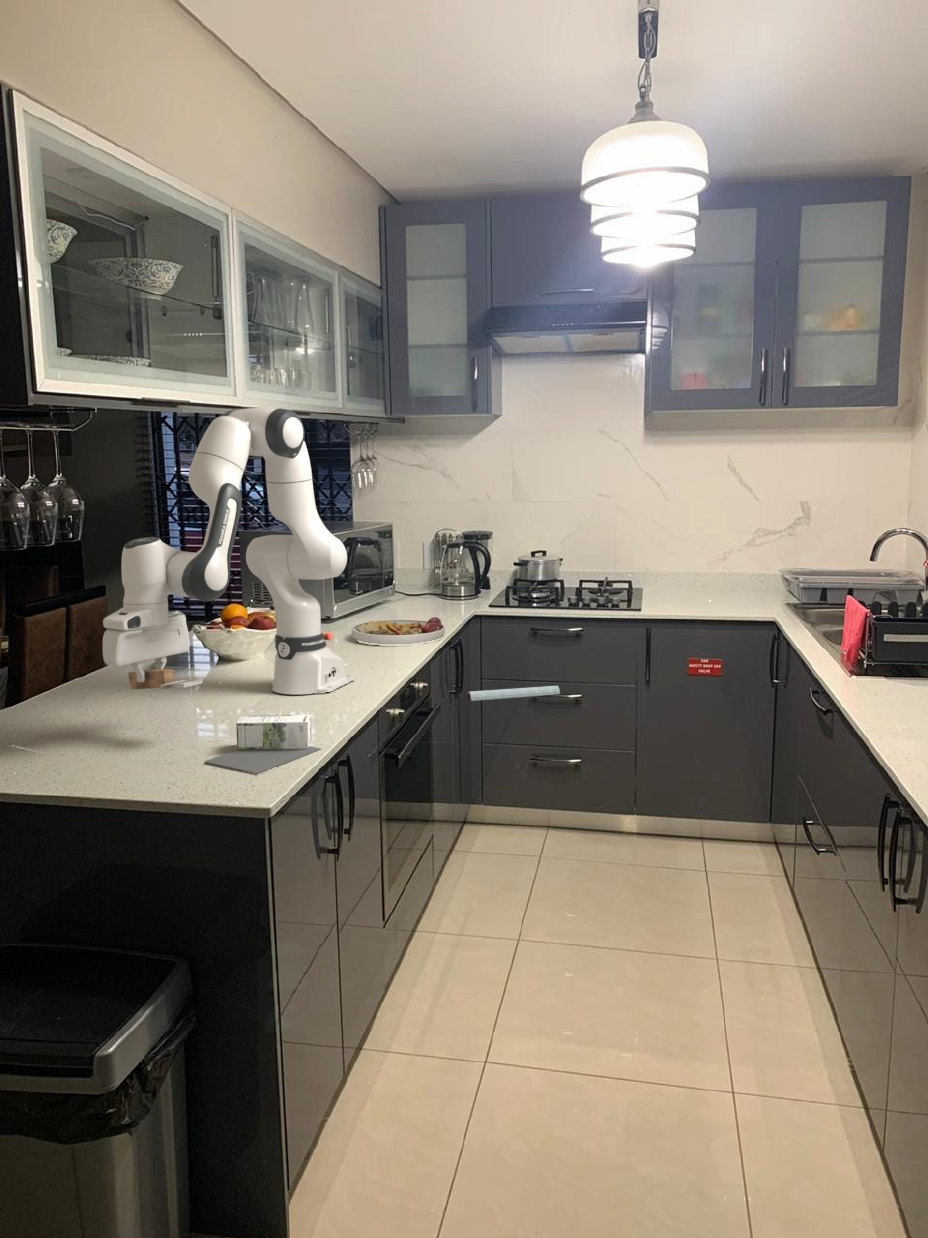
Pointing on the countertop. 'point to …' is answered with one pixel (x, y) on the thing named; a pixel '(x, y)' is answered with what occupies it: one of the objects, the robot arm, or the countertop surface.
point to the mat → (259, 759)
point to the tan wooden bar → (160, 680)
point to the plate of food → (399, 631)
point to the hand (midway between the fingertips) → (150, 680)
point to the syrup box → (274, 732)
